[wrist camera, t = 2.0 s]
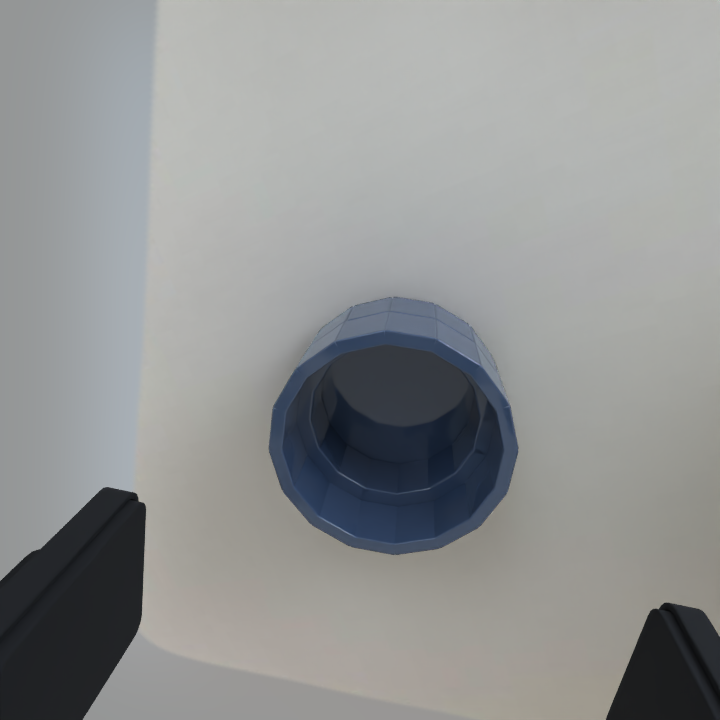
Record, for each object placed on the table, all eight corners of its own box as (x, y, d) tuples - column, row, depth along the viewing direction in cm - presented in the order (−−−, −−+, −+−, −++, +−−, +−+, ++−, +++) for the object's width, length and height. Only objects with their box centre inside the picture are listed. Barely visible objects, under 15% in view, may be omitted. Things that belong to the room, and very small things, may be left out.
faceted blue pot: (263, 367, 20) (221, 420, 16) (421, 253, 19) (420, 280, 14) (377, 506, 22) (365, 589, 18) (535, 413, 20) (565, 481, 16)
